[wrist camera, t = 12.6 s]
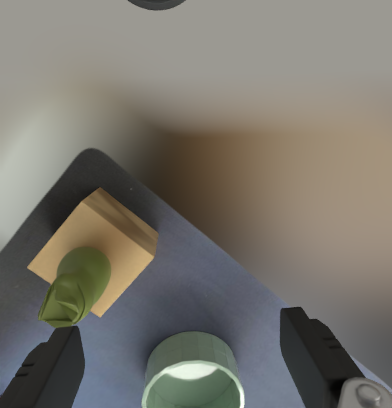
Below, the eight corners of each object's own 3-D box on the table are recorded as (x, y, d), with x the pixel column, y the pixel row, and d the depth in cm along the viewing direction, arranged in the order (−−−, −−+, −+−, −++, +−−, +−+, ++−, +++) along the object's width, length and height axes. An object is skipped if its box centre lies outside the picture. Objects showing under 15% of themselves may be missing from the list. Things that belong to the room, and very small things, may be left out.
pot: (131, 350, 46) (124, 382, 41) (218, 318, 46) (224, 345, 40) (167, 418, 50) (165, 456, 44) (248, 388, 49) (257, 423, 44)
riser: (54, 241, 41) (26, 267, 34) (99, 186, 40) (81, 201, 32) (113, 283, 43) (100, 317, 36) (158, 233, 42) (154, 257, 34)
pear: (104, 291, 35) (76, 354, 25) (59, 273, 34) (13, 332, 24) (123, 250, 34) (102, 299, 24) (77, 231, 33) (36, 274, 23)
